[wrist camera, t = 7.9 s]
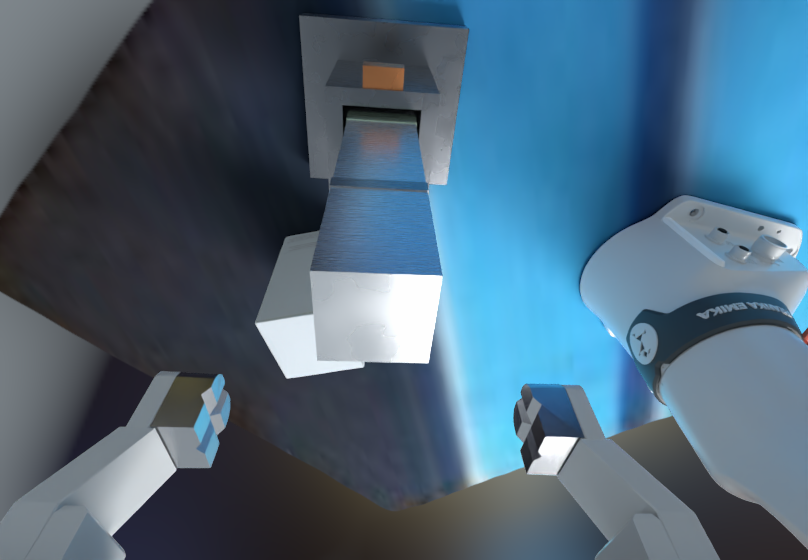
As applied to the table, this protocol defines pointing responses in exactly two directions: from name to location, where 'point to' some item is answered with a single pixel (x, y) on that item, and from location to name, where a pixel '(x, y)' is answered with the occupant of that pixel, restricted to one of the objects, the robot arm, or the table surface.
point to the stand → (381, 82)
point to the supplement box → (294, 312)
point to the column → (376, 246)
